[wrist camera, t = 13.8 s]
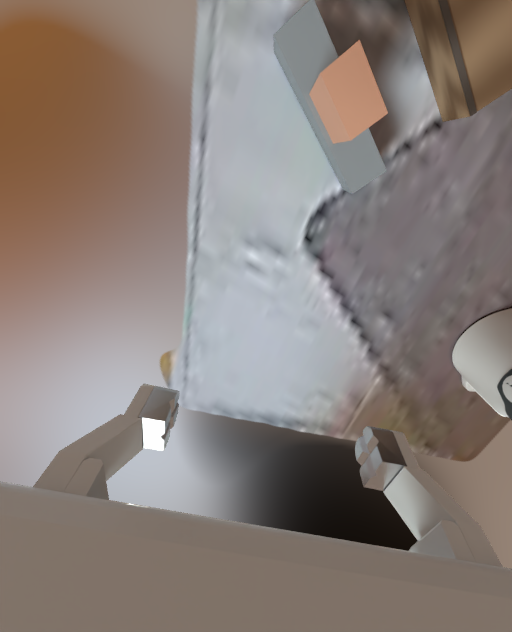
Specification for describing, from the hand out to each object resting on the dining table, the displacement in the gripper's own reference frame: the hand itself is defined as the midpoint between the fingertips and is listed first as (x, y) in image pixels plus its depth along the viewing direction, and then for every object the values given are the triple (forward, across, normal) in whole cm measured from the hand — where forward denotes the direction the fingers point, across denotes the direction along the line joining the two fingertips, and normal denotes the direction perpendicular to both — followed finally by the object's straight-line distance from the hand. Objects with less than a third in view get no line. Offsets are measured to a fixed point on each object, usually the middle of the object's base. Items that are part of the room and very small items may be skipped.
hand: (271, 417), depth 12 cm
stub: (+31, -3, -14) cm, 34 cm away
